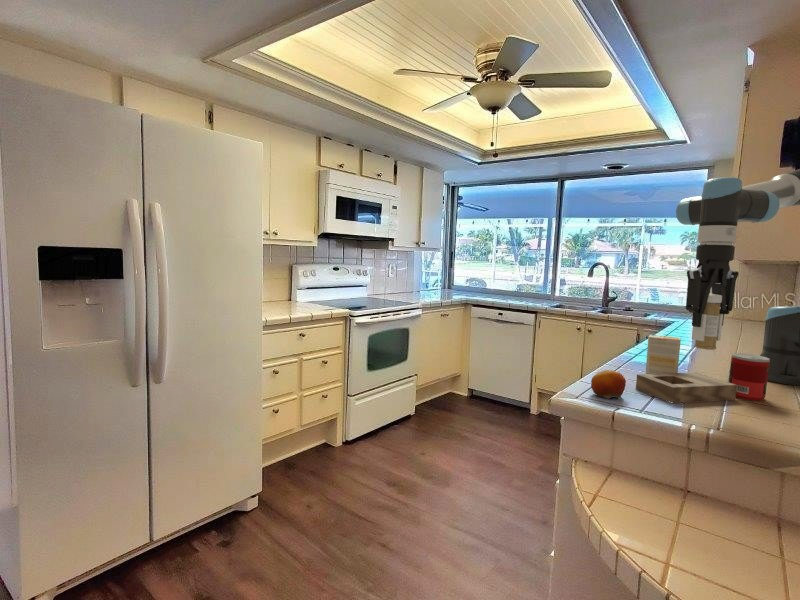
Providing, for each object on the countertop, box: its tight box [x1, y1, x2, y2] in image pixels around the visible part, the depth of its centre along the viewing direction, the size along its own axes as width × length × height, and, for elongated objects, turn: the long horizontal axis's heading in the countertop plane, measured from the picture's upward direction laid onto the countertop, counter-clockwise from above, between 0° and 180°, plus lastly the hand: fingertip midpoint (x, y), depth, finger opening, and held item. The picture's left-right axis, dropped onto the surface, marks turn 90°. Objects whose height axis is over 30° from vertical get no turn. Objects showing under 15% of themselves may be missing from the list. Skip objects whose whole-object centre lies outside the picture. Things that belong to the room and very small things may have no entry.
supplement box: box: [644, 334, 682, 374], centre depth 132 cm, size 8×5×13 cm, turn 56°
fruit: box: [590, 369, 627, 401], centre depth 114 cm, size 8×8×8 cm
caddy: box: [635, 372, 737, 403], centre depth 118 cm, size 20×12×4 cm, turn 103°
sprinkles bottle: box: [693, 293, 722, 351], centre depth 108 cm, size 5×5×13 cm
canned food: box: [728, 352, 770, 402], centre depth 118 cm, size 8×8×11 cm
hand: (705, 339), depth 109 cm, fingers closed on sprinkles bottle, 4 cm apart
